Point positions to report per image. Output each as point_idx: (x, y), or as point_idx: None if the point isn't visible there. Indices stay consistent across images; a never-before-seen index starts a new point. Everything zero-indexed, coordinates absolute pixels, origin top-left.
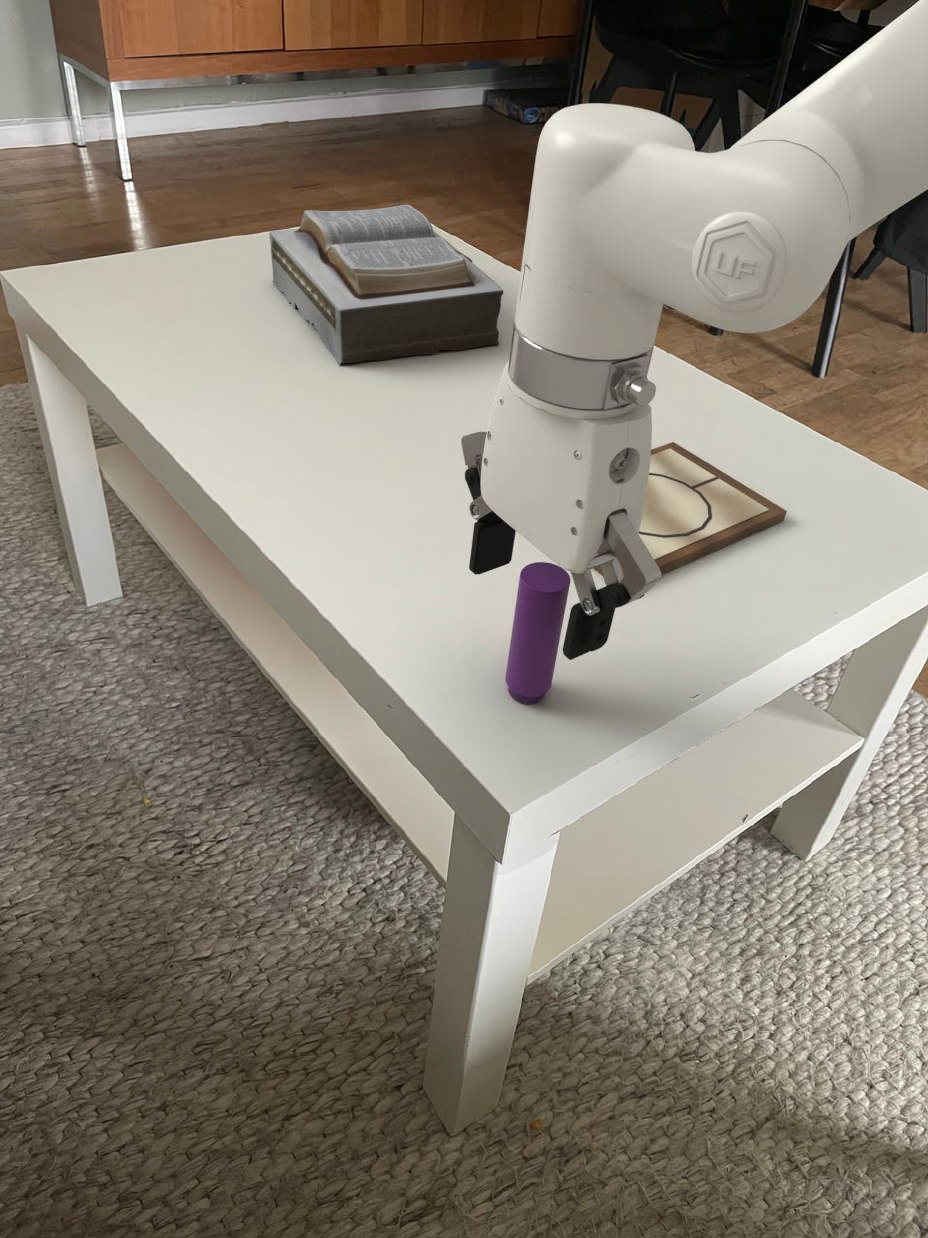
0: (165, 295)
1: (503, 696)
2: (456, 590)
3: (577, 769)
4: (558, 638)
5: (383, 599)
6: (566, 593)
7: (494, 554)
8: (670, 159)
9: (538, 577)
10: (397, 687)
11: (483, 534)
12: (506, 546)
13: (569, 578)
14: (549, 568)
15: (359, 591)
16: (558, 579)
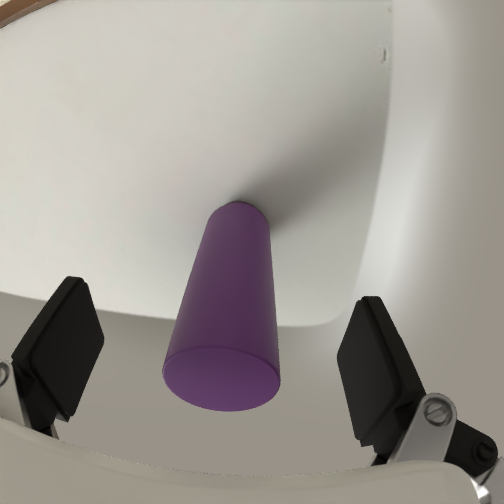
0: None
1: None
2: (49, 178)
3: (360, 259)
4: (271, 275)
5: (45, 253)
6: (276, 356)
7: (83, 338)
8: None
9: (215, 394)
10: (161, 317)
11: (75, 406)
12: (70, 323)
13: (259, 360)
14: (198, 365)
15: (32, 264)
16: (244, 373)
